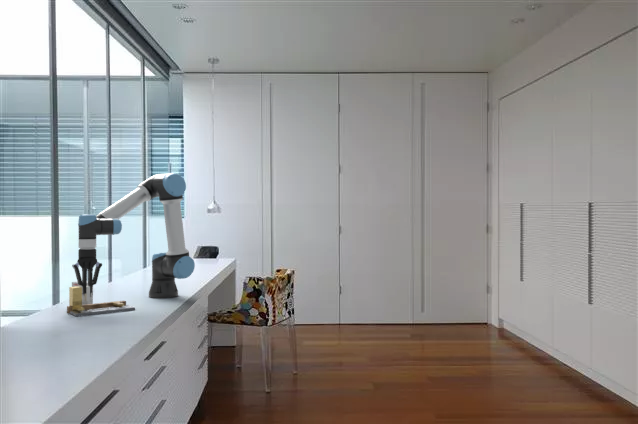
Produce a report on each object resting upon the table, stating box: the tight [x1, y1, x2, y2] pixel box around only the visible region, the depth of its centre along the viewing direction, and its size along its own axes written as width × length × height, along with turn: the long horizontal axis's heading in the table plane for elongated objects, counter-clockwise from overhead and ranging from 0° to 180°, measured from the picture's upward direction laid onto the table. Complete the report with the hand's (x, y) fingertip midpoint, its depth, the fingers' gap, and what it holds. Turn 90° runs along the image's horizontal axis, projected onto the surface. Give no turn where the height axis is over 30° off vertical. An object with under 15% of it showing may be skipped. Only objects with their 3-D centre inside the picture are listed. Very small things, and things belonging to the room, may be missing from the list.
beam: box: [66, 300, 127, 314], centre depth 264 cm, size 26×9×3 cm, turn 130°
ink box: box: [71, 280, 94, 305], centre depth 276 cm, size 9×5×12 cm, turn 84°
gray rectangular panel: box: [69, 304, 136, 317], centre depth 261 cm, size 26×8×1 cm, turn 130°
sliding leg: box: [68, 286, 85, 311], centre depth 258 cm, size 4×10×11 cm, turn 40°
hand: (87, 300), depth 264 cm, fingers closed
